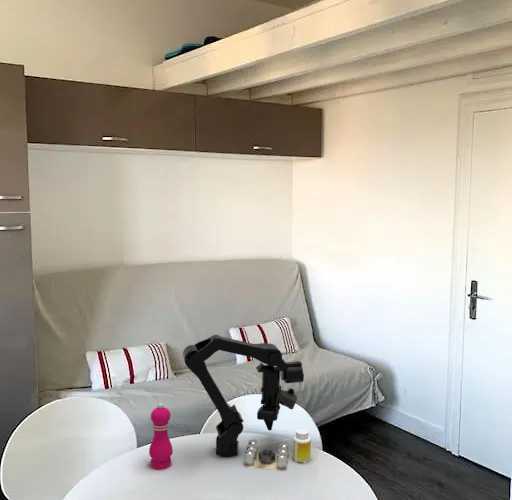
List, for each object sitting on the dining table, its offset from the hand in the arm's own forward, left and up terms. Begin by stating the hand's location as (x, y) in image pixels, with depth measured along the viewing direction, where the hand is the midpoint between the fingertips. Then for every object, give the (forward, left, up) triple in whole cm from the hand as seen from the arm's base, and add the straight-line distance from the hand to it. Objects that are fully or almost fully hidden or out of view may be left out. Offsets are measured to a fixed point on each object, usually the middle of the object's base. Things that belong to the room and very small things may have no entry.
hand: (269, 429), depth 188 cm
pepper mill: (-32, -14, -8) cm, 36 cm away
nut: (0, -8, -7) cm, 10 cm away
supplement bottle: (+11, -5, -8) cm, 14 cm away
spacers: (0, -8, -7) cm, 10 cm away
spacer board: (0, -10, -8) cm, 12 cm away
